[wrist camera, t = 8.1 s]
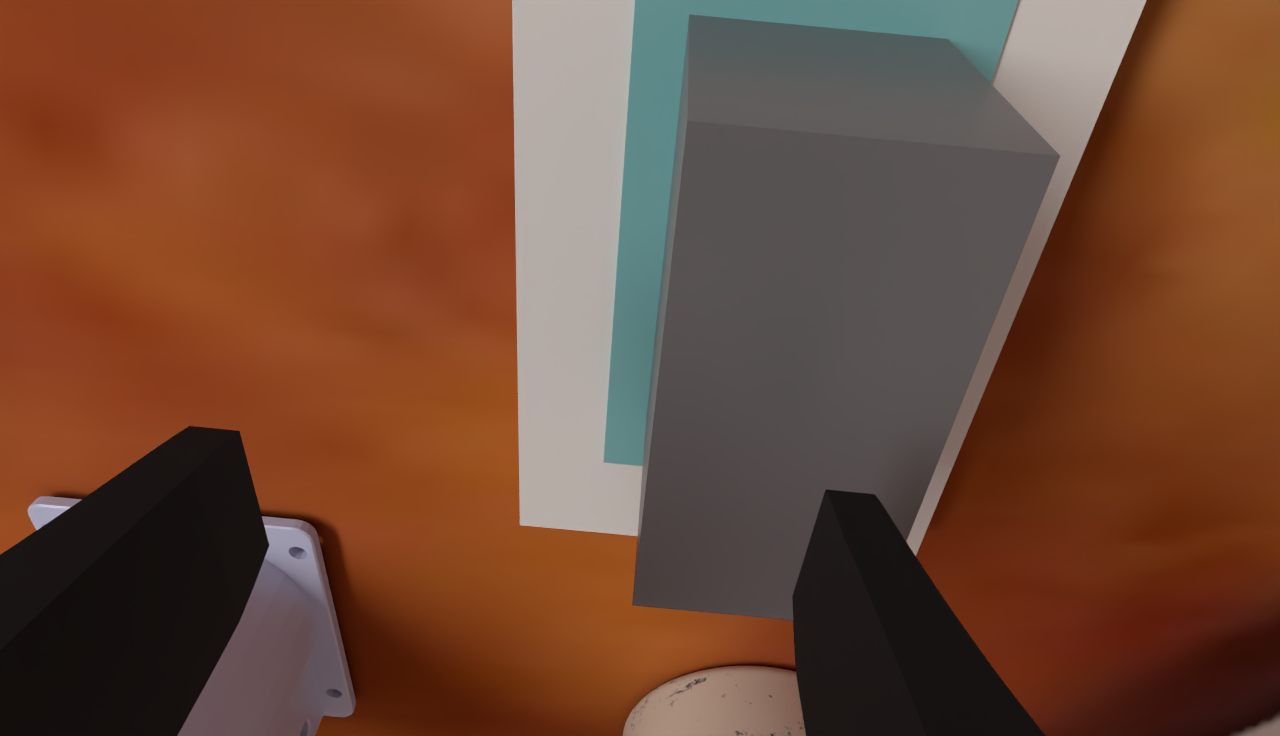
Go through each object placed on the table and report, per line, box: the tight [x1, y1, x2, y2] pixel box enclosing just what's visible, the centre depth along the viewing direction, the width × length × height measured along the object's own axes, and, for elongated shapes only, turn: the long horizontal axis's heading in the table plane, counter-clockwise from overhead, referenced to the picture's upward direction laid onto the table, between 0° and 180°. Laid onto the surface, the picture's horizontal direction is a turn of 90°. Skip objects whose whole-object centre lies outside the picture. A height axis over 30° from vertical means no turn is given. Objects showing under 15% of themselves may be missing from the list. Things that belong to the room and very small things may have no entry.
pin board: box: [512, 0, 1147, 556], centre depth 15 cm, size 16×10×5 cm, turn 176°
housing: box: [633, 14, 1060, 620], centre depth 14 cm, size 9×4×5 cm, turn 176°
